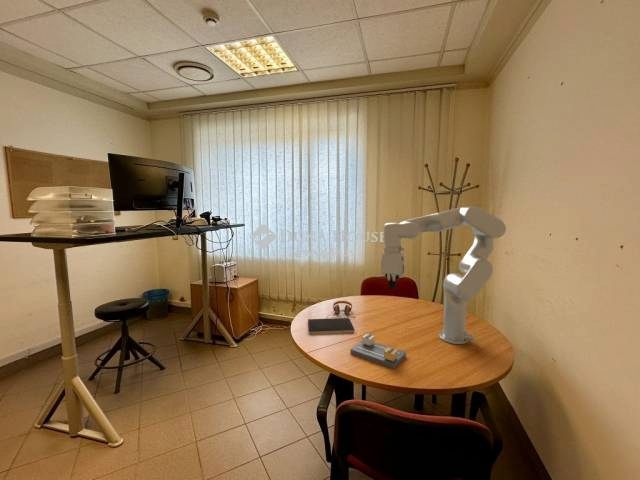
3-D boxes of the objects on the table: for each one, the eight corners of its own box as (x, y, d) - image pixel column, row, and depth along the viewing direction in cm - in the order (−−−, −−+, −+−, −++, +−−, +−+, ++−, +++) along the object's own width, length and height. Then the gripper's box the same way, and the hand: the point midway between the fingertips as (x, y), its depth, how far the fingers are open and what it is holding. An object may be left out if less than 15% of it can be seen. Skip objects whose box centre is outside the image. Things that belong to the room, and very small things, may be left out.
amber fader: (397, 357, 115) (397, 348, 115) (393, 361, 112) (393, 352, 111) (388, 354, 117) (388, 345, 117) (383, 358, 114) (383, 349, 114)
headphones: (325, 315, 159) (329, 297, 178) (325, 323, 161) (329, 304, 180) (355, 317, 157) (356, 298, 176) (355, 325, 159) (356, 305, 177)
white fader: (374, 342, 128) (374, 334, 127) (370, 345, 125) (370, 337, 124) (366, 339, 130) (366, 332, 130) (362, 343, 127) (362, 335, 127)
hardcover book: (354, 333, 144) (354, 329, 143) (309, 335, 142) (308, 331, 142) (348, 321, 160) (348, 317, 159) (308, 322, 158) (307, 318, 158)
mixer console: (405, 356, 120) (405, 351, 120) (394, 369, 111) (394, 364, 111) (364, 343, 132) (364, 338, 132) (350, 353, 123) (350, 348, 123)
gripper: (411, 249, 129) (410, 288, 131) (380, 247, 138) (380, 284, 140) (405, 251, 123) (405, 293, 125) (373, 249, 132) (374, 288, 134)
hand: (392, 288), depth 133 cm, fingers closed
